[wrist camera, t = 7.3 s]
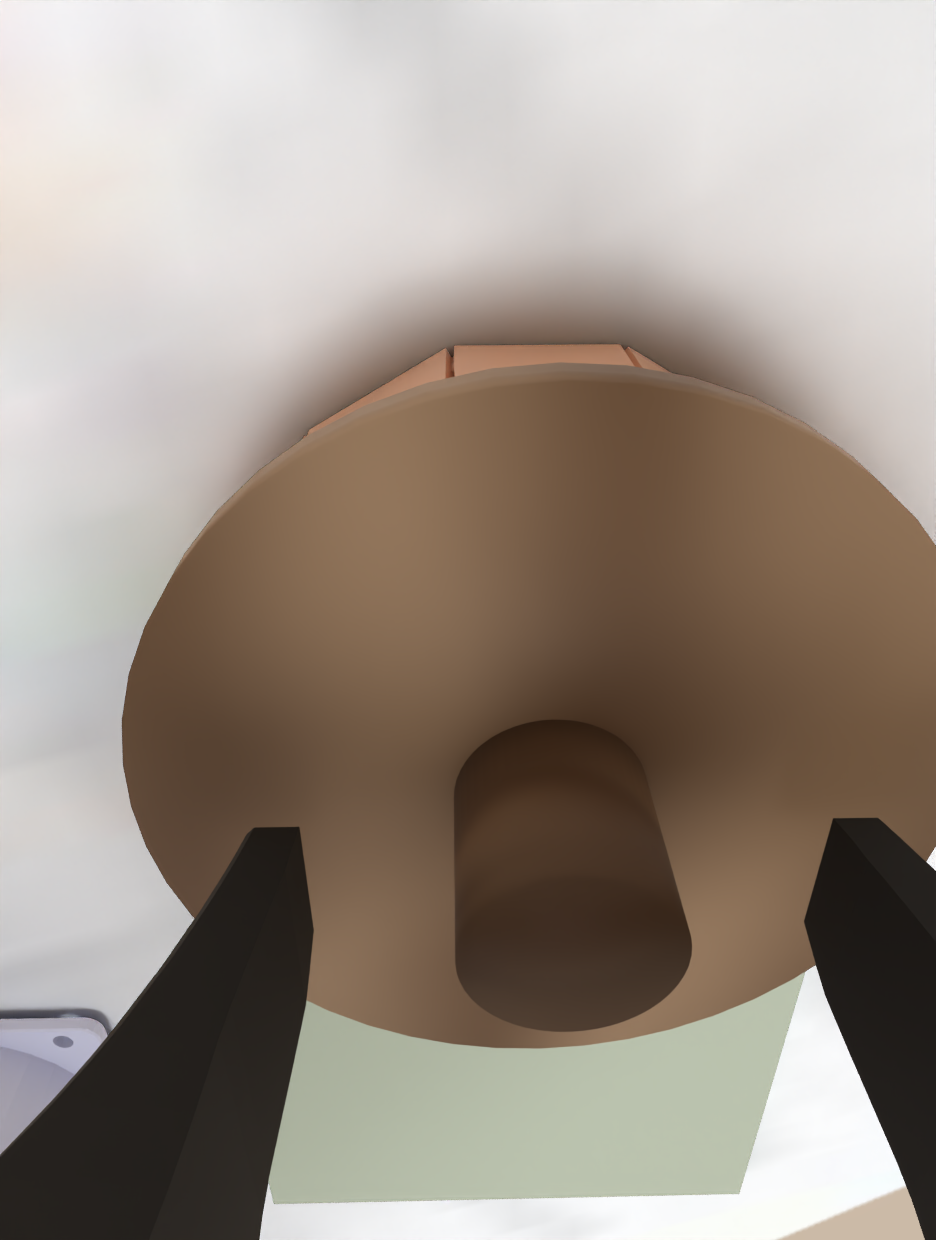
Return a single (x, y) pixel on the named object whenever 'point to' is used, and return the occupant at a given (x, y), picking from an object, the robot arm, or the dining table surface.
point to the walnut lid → (543, 698)
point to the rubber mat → (526, 1112)
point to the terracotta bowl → (496, 365)
